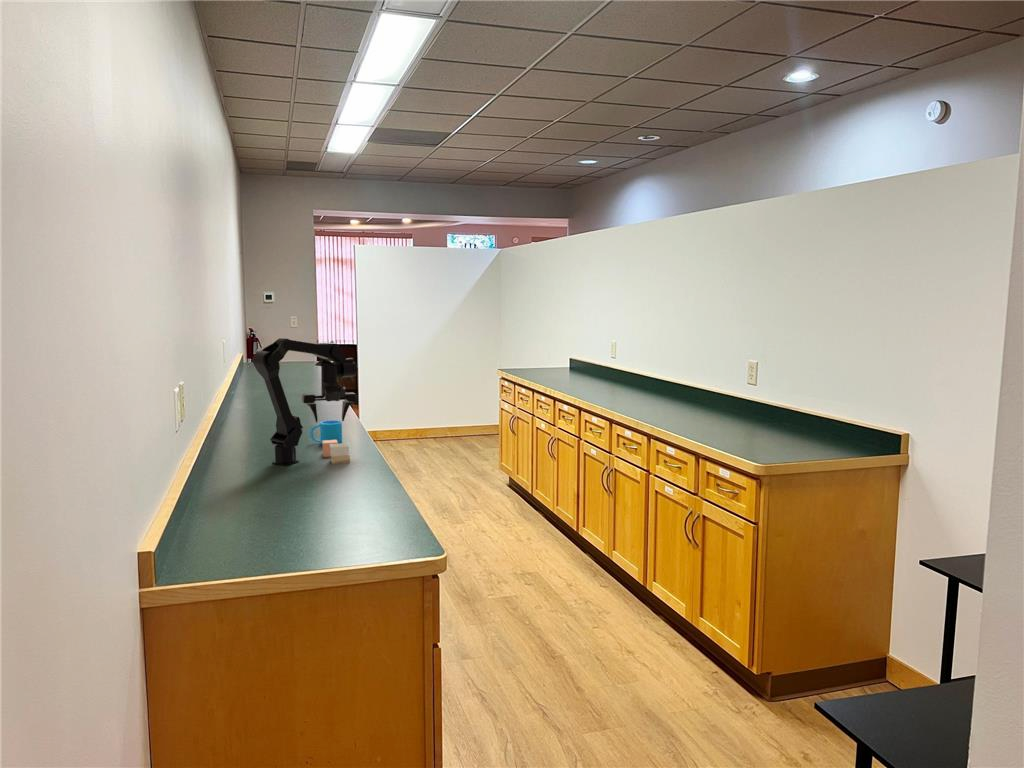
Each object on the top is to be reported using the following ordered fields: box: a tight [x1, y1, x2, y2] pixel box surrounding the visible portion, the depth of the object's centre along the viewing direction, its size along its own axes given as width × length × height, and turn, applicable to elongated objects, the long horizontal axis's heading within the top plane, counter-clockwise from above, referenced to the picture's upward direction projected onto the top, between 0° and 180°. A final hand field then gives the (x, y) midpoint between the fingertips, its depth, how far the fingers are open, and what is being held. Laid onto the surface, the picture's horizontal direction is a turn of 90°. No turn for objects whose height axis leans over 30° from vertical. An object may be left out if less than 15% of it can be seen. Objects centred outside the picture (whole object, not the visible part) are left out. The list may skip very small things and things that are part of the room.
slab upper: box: [330, 442, 350, 457], centre depth 256 cm, size 6×6×3 cm
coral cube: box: [321, 440, 338, 458], centre depth 267 cm, size 5×5×5 cm
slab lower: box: [330, 453, 351, 465], centre depth 257 cm, size 6×6×3 cm
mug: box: [309, 420, 343, 446], centre depth 287 cm, size 12×8×8 cm
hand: (329, 421), depth 267 cm, fingers open, 9 cm apart
